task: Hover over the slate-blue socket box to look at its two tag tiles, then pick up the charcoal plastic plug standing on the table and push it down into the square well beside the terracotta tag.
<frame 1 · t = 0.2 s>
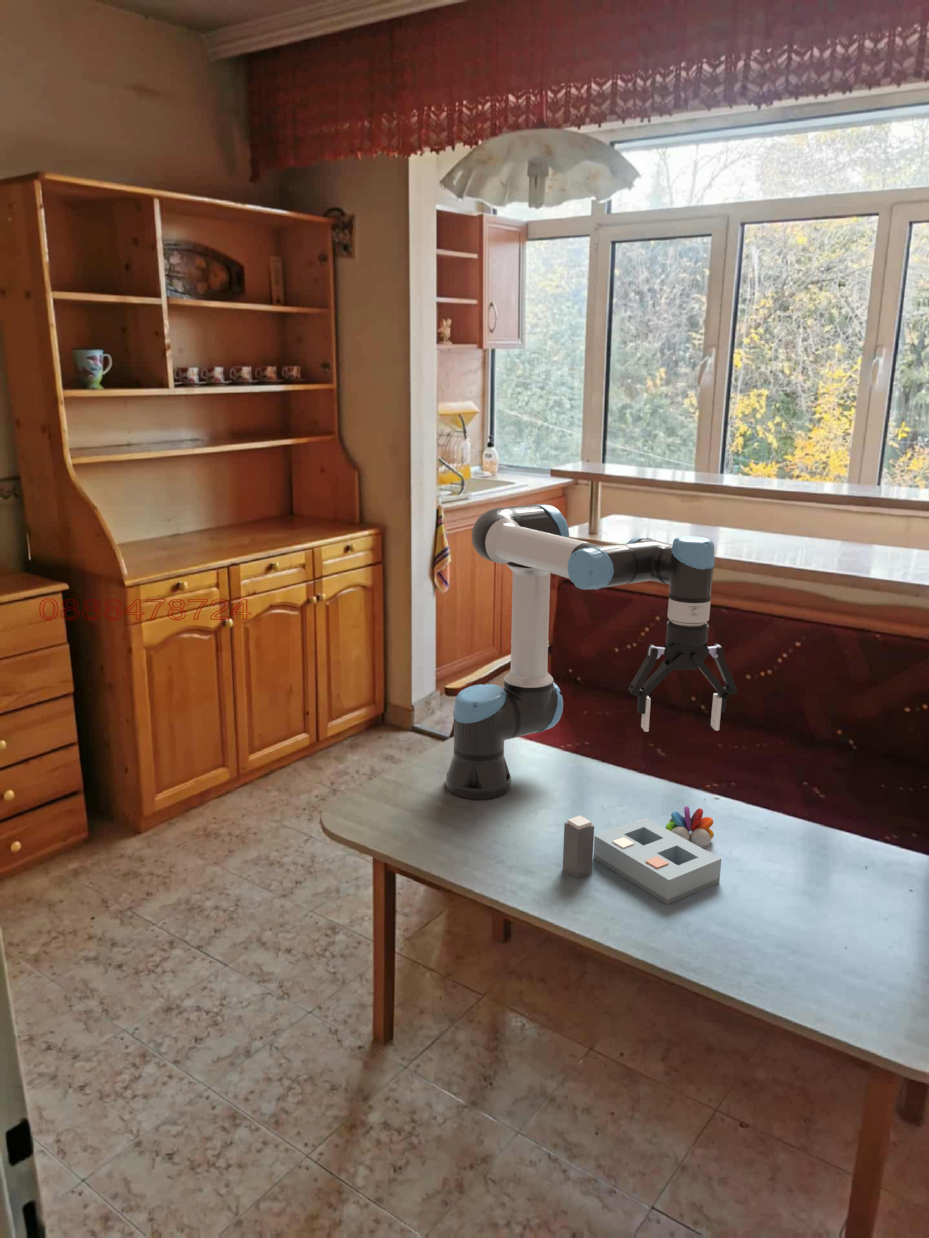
hand: (679, 728, 178), 28 cm above the table, fingers open, 13 cm apart
socket box: (655, 869, 182), on the table
rainbow petal fan toy: (688, 840, 194), on the table
plug: (577, 871, 181), on the table
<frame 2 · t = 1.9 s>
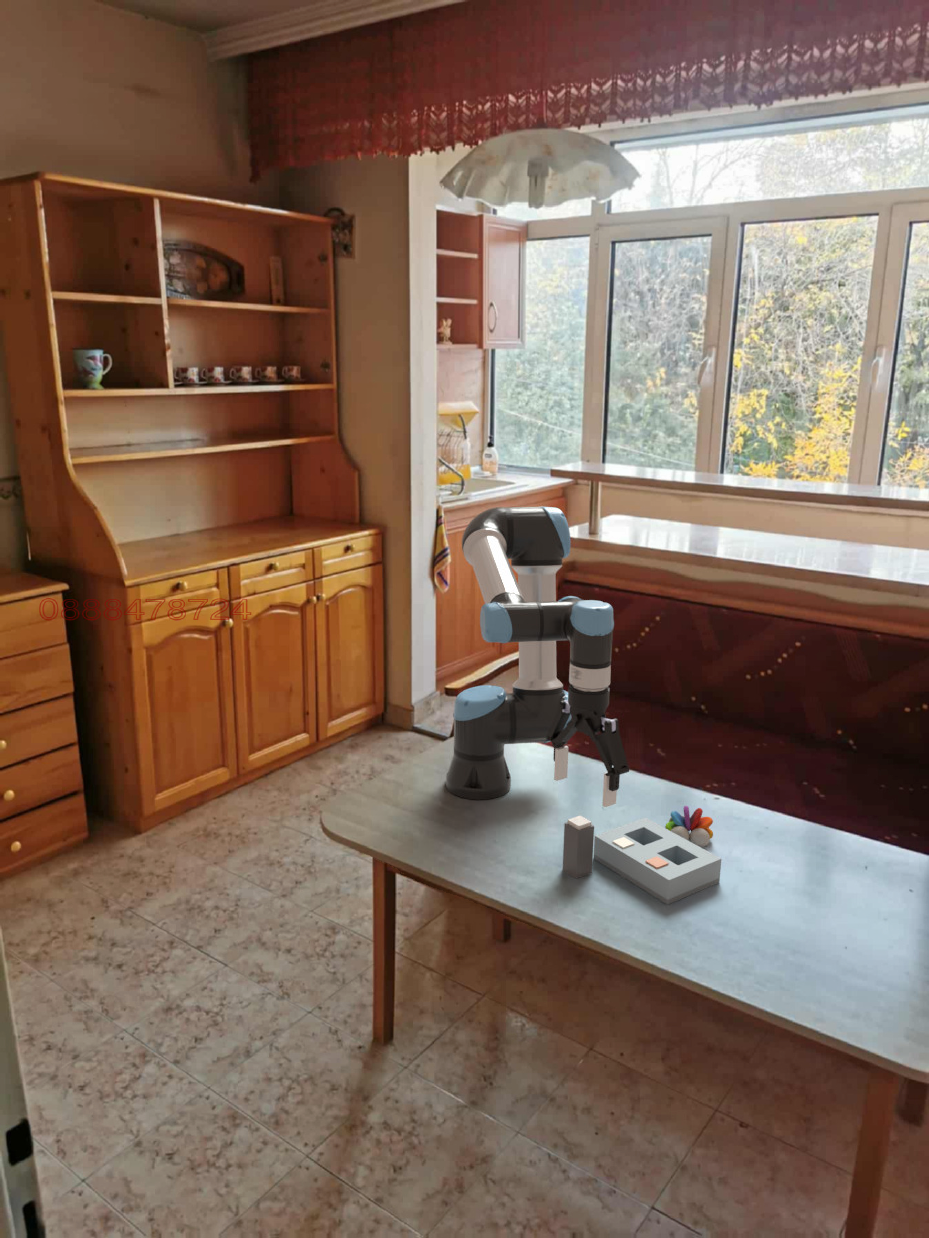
hand: (584, 791, 177), 17 cm above the table, fingers open, 13 cm apart
nothing on the table moved.
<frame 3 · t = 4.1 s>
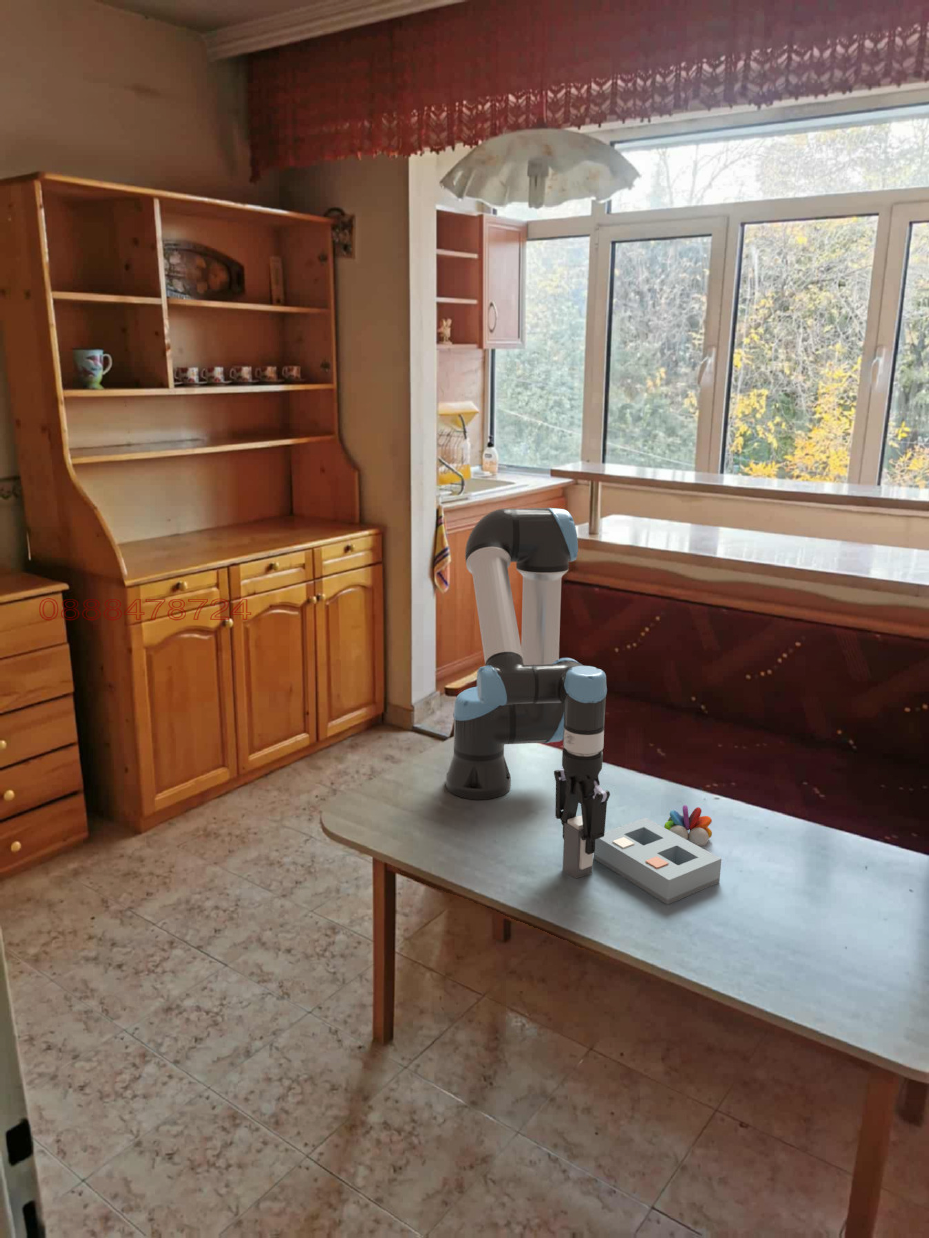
hand: (577, 861, 180), 2 cm above the table, fingers closed on plug, 4 cm apart
plug: (577, 871, 181), on the table, touching gripper
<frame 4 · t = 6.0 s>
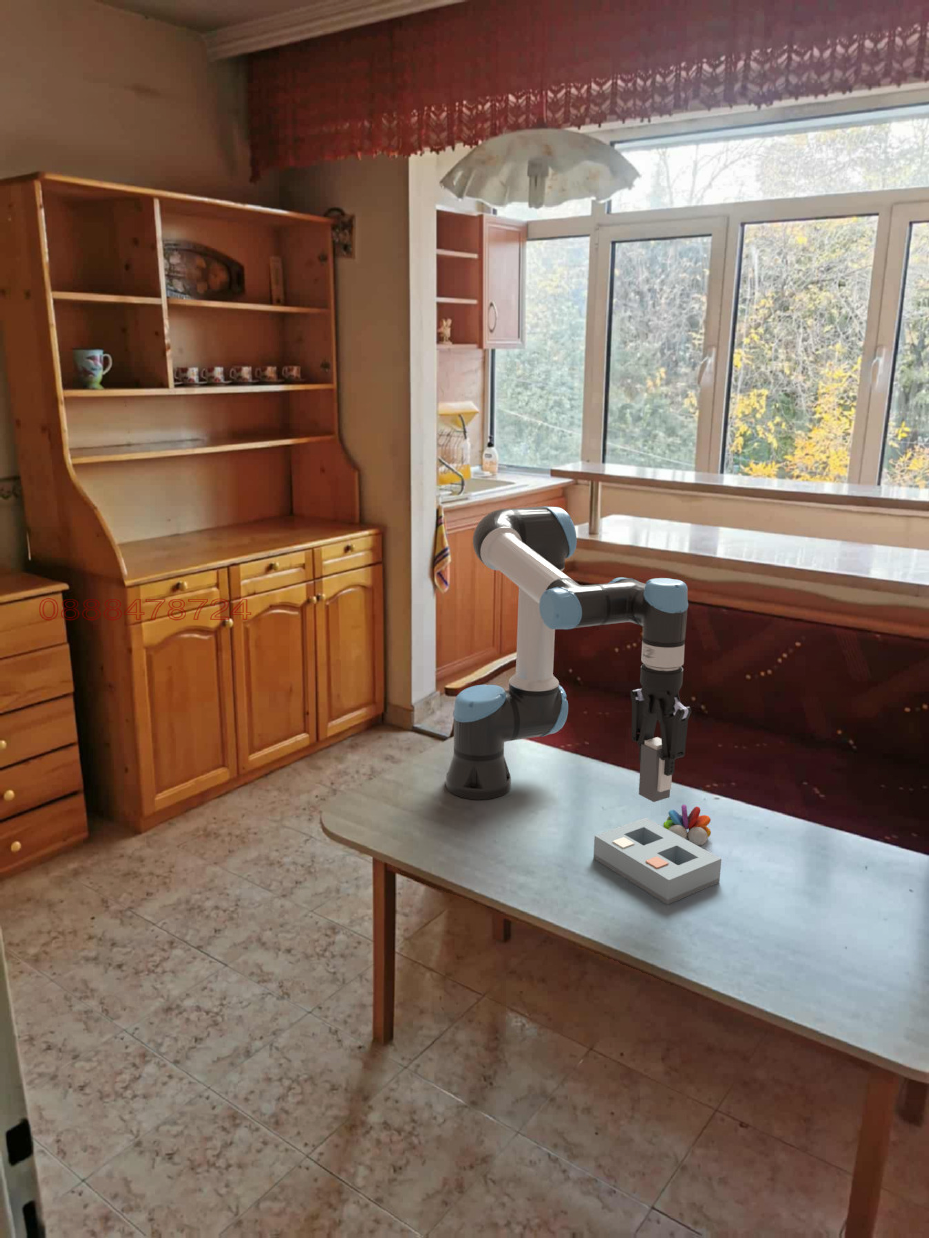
hand: (655, 784, 174), 19 cm above the table, fingers closed on plug, 4 cm apart
plug: (654, 795, 174), point 17 cm above the table, touching gripper
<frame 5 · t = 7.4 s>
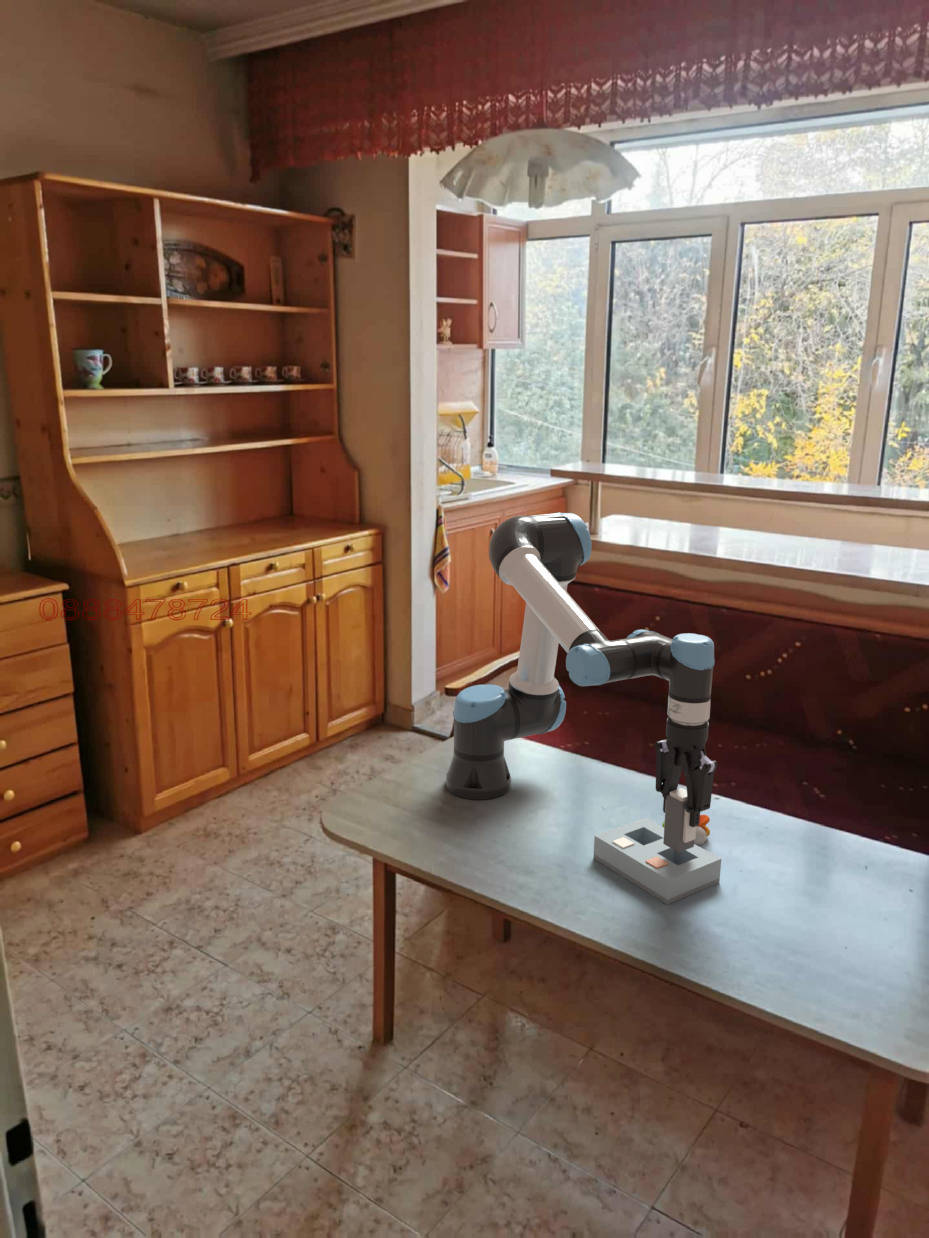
hand: (679, 834, 176), 9 cm above the table, fingers closed on plug, 4 cm apart
plug: (678, 845, 177), point 7 cm above the table, touching gripper
when the fingers open (6 cm above the table, at t = 8.4 s): plug drops 2 cm, resting on socket box.
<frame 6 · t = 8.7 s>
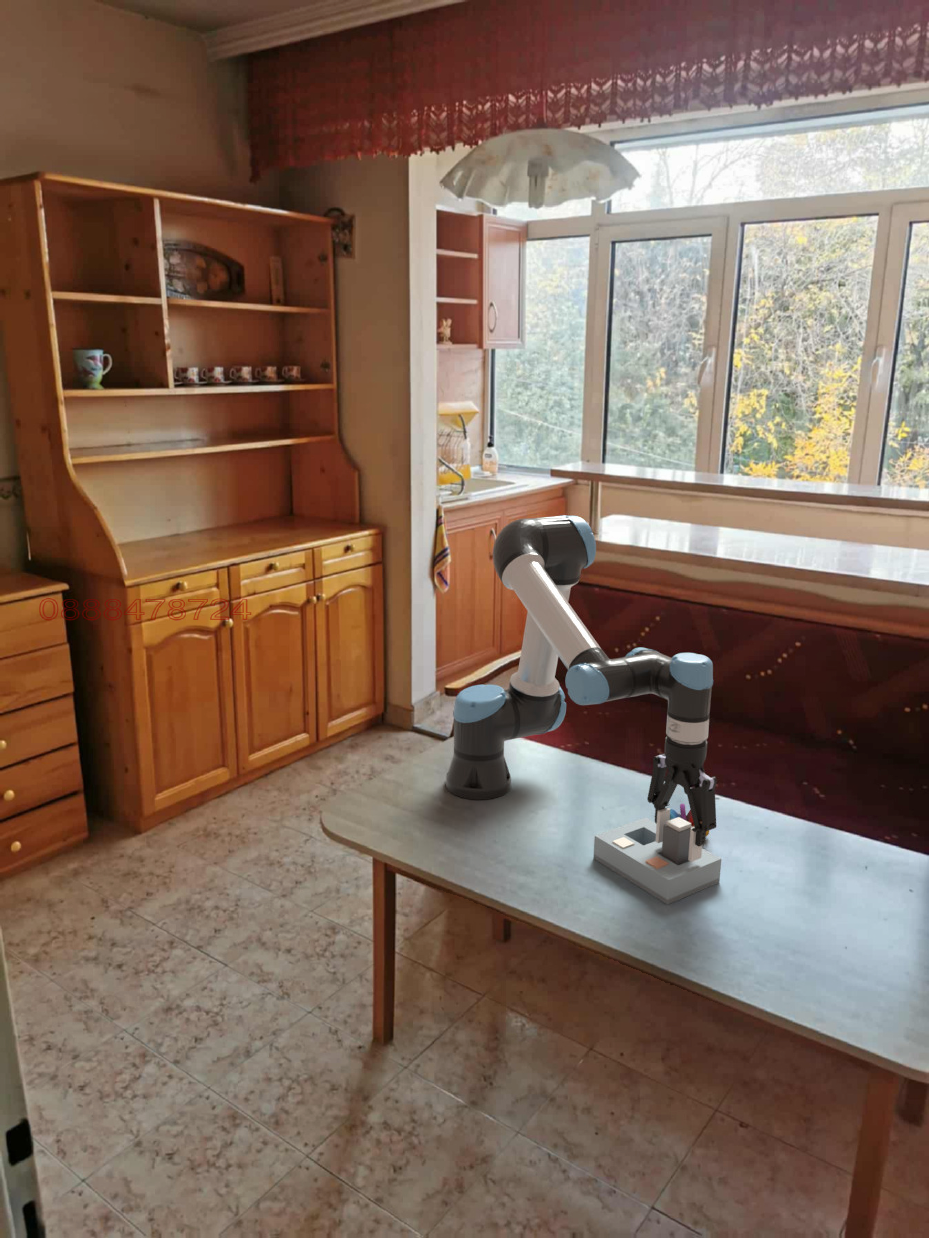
hand: (677, 849, 177), 6 cm above the table, fingers open, 8 cm apart
plug: (675, 873, 178), point 1 cm above the table, touching socket box
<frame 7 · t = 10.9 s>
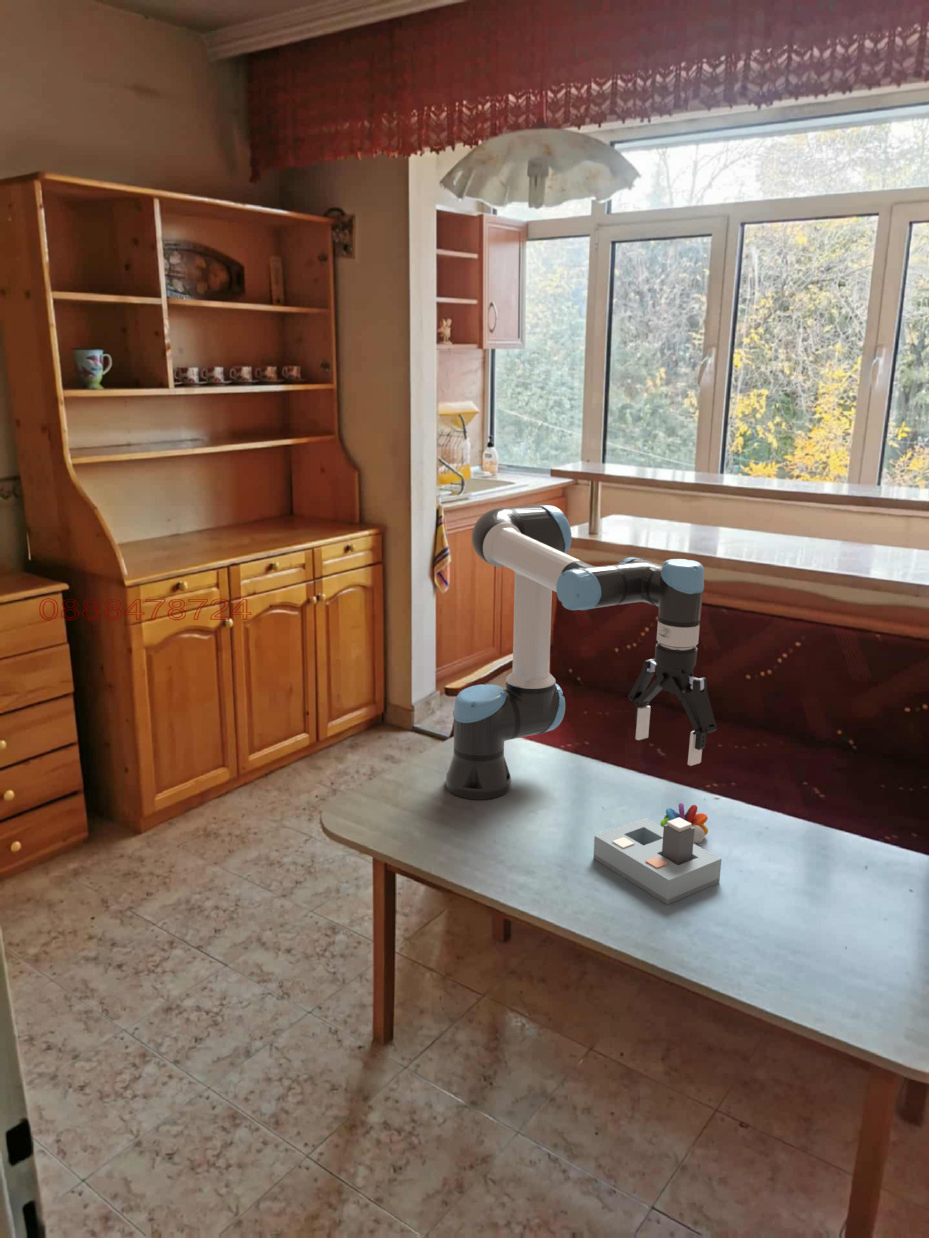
hand: (667, 750, 177), 24 cm above the table, fingers open, 13 cm apart
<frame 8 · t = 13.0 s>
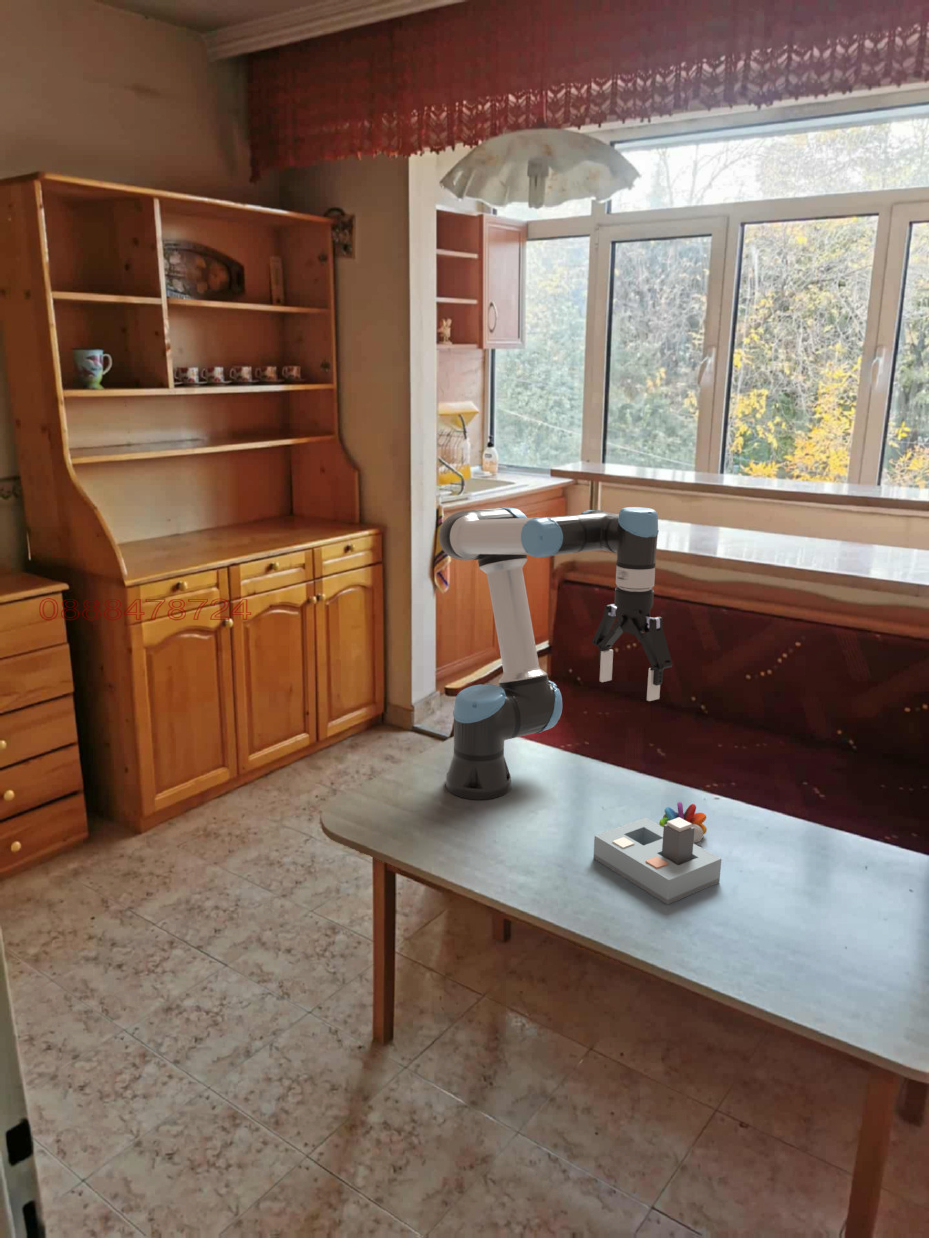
hand: (628, 690, 188), 32 cm above the table, fingers open, 13 cm apart
at the end: plug 0.1 cm from the target spot on the socket box, point 1.0 cm above the socket box's base; plug tilted 0°; the gripper is holding nothing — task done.
